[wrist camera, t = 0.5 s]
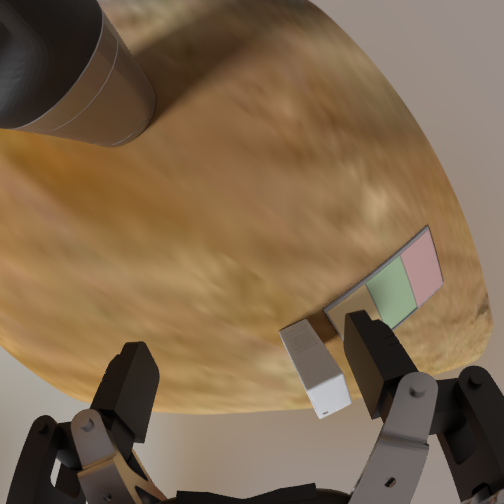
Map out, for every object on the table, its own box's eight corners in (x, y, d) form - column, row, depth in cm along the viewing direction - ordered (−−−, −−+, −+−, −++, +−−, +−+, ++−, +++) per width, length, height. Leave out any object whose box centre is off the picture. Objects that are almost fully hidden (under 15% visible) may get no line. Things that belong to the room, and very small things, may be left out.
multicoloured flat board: (322, 309, 35) (324, 311, 35) (425, 225, 35) (428, 226, 34) (353, 358, 39) (355, 360, 38) (441, 283, 38) (444, 284, 38)
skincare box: (318, 347, 37) (353, 404, 26) (291, 360, 37) (318, 420, 26) (306, 316, 35) (344, 372, 24) (277, 330, 35) (305, 392, 24)
